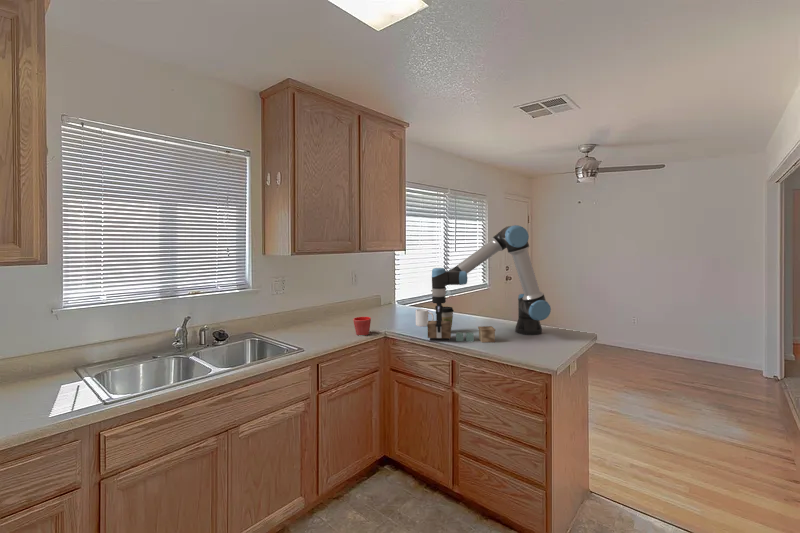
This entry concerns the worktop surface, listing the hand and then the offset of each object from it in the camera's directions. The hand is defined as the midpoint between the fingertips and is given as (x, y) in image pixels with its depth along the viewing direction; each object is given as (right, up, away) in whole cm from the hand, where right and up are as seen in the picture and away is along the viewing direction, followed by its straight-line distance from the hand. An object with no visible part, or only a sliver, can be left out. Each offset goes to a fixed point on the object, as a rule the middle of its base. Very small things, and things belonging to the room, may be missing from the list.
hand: (439, 335), depth 215 cm
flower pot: (-45, -2, +17) cm, 48 cm away
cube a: (+17, -2, -2) cm, 17 cm away
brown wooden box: (0, 0, 0) cm, 0 cm away
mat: (0, -2, 0) cm, 2 cm away
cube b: (+11, -2, -1) cm, 11 cm away
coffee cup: (+6, -1, +17) cm, 17 cm away
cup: (-6, 0, +36) cm, 37 cm away
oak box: (+26, -2, -4) cm, 26 cm away
